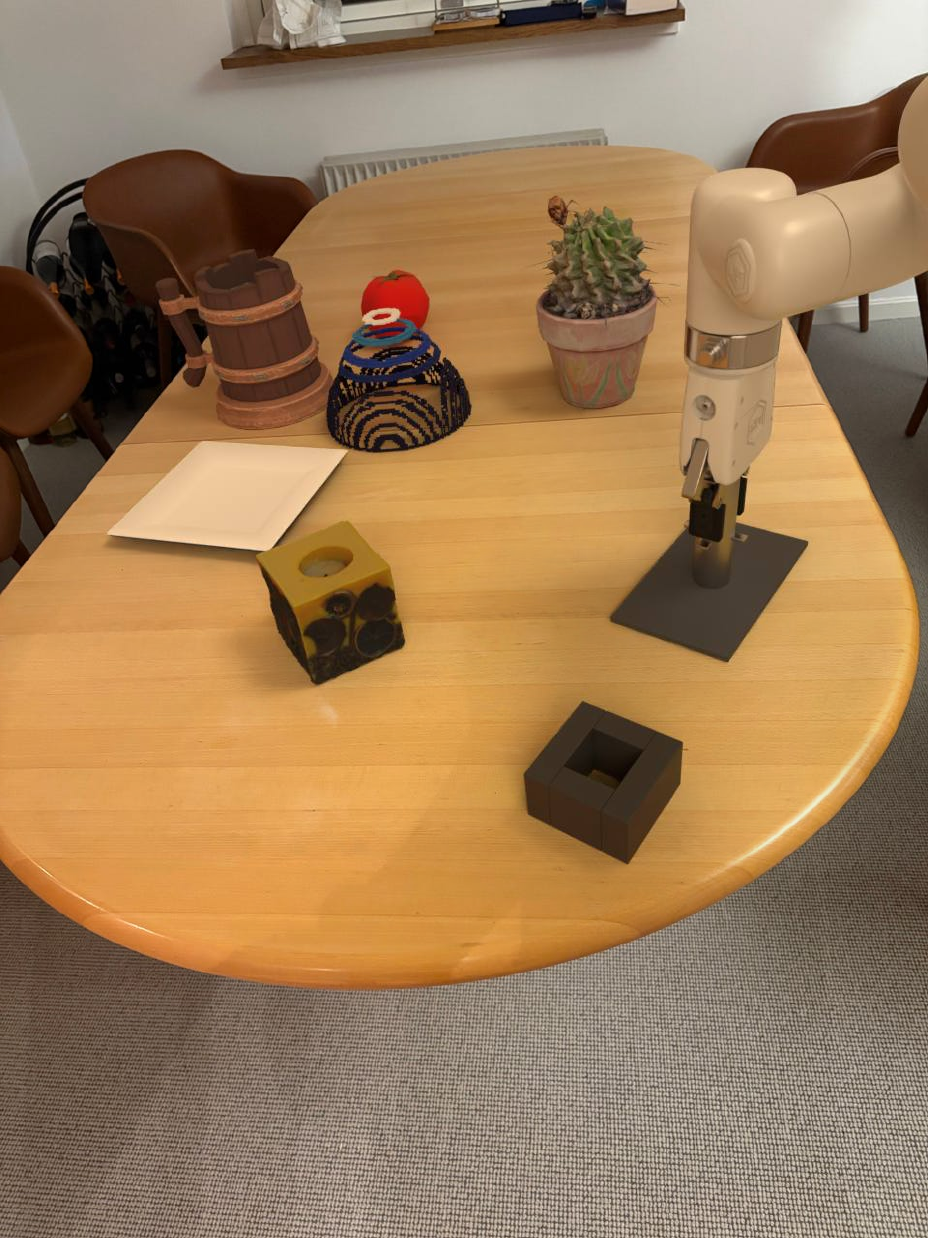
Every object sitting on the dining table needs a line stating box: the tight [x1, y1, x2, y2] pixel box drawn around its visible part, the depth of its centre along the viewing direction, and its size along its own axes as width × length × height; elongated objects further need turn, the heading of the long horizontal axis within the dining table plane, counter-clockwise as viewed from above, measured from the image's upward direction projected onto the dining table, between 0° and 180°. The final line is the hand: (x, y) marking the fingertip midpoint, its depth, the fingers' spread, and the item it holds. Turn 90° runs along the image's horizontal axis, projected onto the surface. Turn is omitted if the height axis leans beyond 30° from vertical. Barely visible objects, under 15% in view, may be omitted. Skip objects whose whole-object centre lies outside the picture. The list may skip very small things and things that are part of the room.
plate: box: [106, 440, 349, 553], centre depth 110 cm, size 22×22×2 cm
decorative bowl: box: [325, 308, 472, 454], centre depth 119 cm, size 20×20×14 cm
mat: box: [609, 521, 809, 663], centre depth 88 cm, size 12×20×1 cm, turn 144°
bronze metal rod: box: [683, 467, 748, 588], centre depth 84 cm, size 6×6×12 cm
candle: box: [255, 520, 406, 686], centre depth 85 cm, size 10×10×10 cm
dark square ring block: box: [523, 700, 684, 865], centre depth 68 cm, size 9×9×5 cm
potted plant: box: [517, 195, 680, 410], centre depth 114 cm, size 18×20×25 cm
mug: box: [155, 248, 335, 430], centre depth 126 cm, size 18×23×20 cm
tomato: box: [360, 269, 430, 338], centre depth 142 cm, size 11×13×10 cm
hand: (716, 522), depth 84 cm, fingers open, 4 cm apart
